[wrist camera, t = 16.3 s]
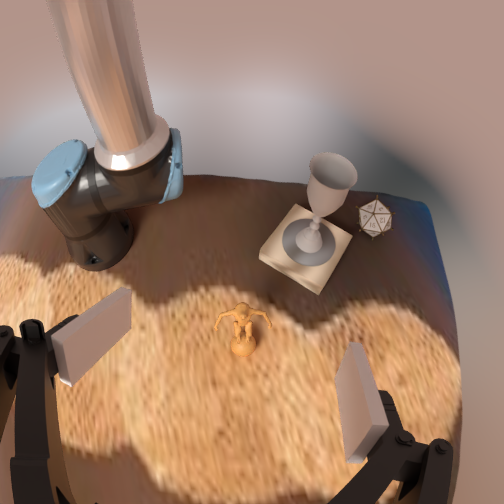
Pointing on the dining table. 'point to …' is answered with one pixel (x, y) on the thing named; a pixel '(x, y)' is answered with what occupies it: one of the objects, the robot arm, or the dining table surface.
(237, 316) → the figurine
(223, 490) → the dining table surface
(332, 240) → the pedestal
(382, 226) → the game die
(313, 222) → the chalice
